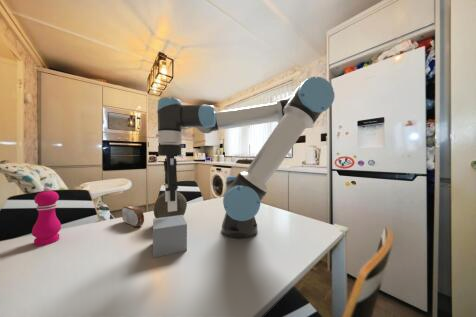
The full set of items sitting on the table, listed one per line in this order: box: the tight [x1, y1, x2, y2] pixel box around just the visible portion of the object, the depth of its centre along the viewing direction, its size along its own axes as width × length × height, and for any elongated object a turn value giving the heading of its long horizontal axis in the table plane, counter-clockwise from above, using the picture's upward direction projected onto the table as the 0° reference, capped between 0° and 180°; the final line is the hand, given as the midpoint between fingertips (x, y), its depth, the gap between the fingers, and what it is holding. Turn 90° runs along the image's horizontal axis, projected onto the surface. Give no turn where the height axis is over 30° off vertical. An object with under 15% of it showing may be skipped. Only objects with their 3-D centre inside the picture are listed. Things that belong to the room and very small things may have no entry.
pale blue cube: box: [152, 215, 188, 258], centre depth 61 cm, size 10×10×9 cm
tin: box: [121, 204, 145, 228], centre depth 80 cm, size 15×3×8 cm, turn 58°
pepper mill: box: [31, 186, 62, 247], centre depth 64 cm, size 7×7×20 cm
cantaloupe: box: [153, 191, 188, 218], centre depth 81 cm, size 14×14×15 cm
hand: (170, 205), depth 61 cm, fingers open, 13 cm apart
